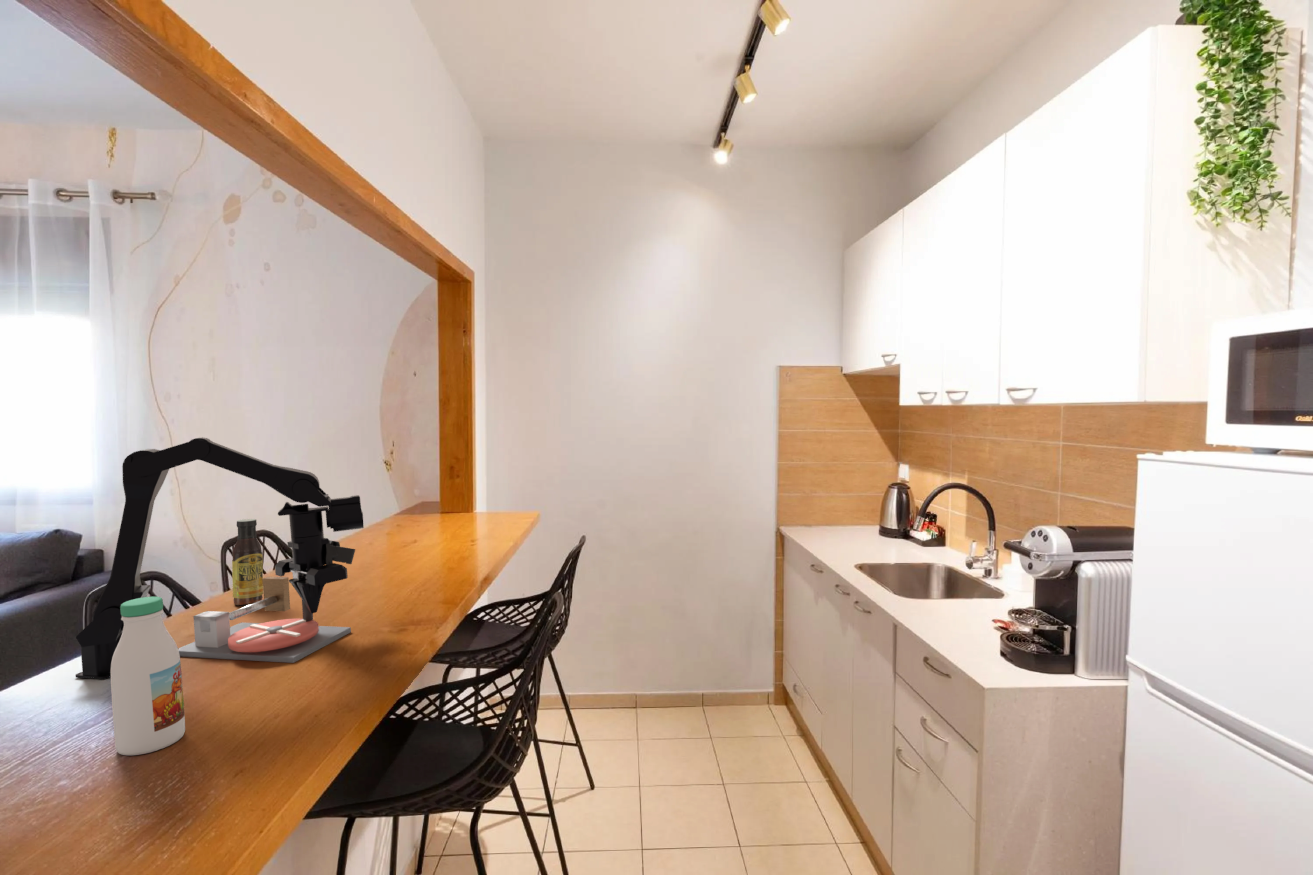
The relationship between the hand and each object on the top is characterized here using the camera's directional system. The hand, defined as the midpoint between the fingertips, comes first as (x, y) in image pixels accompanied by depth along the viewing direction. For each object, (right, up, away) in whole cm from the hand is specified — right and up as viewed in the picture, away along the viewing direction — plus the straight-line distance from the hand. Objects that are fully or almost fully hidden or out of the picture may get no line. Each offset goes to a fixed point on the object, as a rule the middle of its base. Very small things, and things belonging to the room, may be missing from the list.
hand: (313, 612), depth 131 cm
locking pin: (-15, -3, +6) cm, 17 cm away
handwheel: (-5, -3, -5) cm, 8 cm away
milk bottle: (-2, -8, -40) cm, 41 cm away
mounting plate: (-9, -6, -2) cm, 10 cm away
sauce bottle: (-29, -5, +27) cm, 40 cm away
